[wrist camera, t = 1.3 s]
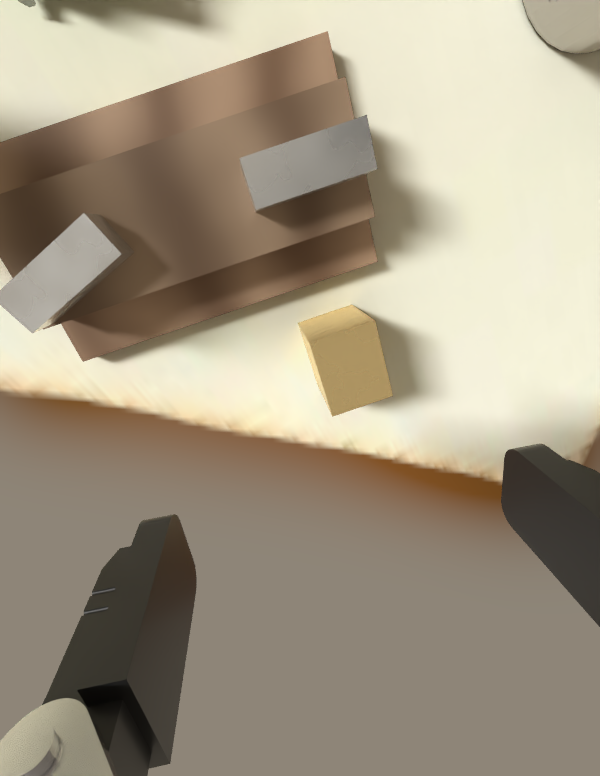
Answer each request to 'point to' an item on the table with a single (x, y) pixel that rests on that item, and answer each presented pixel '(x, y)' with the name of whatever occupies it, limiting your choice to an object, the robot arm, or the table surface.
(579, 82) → the table surface
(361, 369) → the natural wood cube
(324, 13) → the table surface
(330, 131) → the grey bar
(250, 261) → the base
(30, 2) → the metal bracket
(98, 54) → the table surface
